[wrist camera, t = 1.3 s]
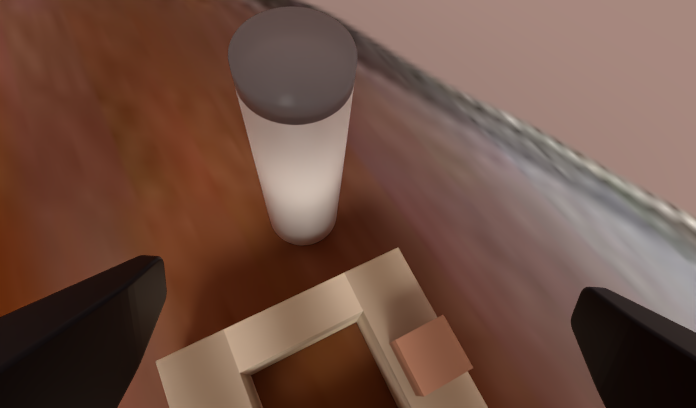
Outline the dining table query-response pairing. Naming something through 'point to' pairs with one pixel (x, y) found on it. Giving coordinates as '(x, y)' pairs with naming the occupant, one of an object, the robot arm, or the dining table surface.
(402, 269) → the socket board
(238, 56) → the plug
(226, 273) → the dining table surface
